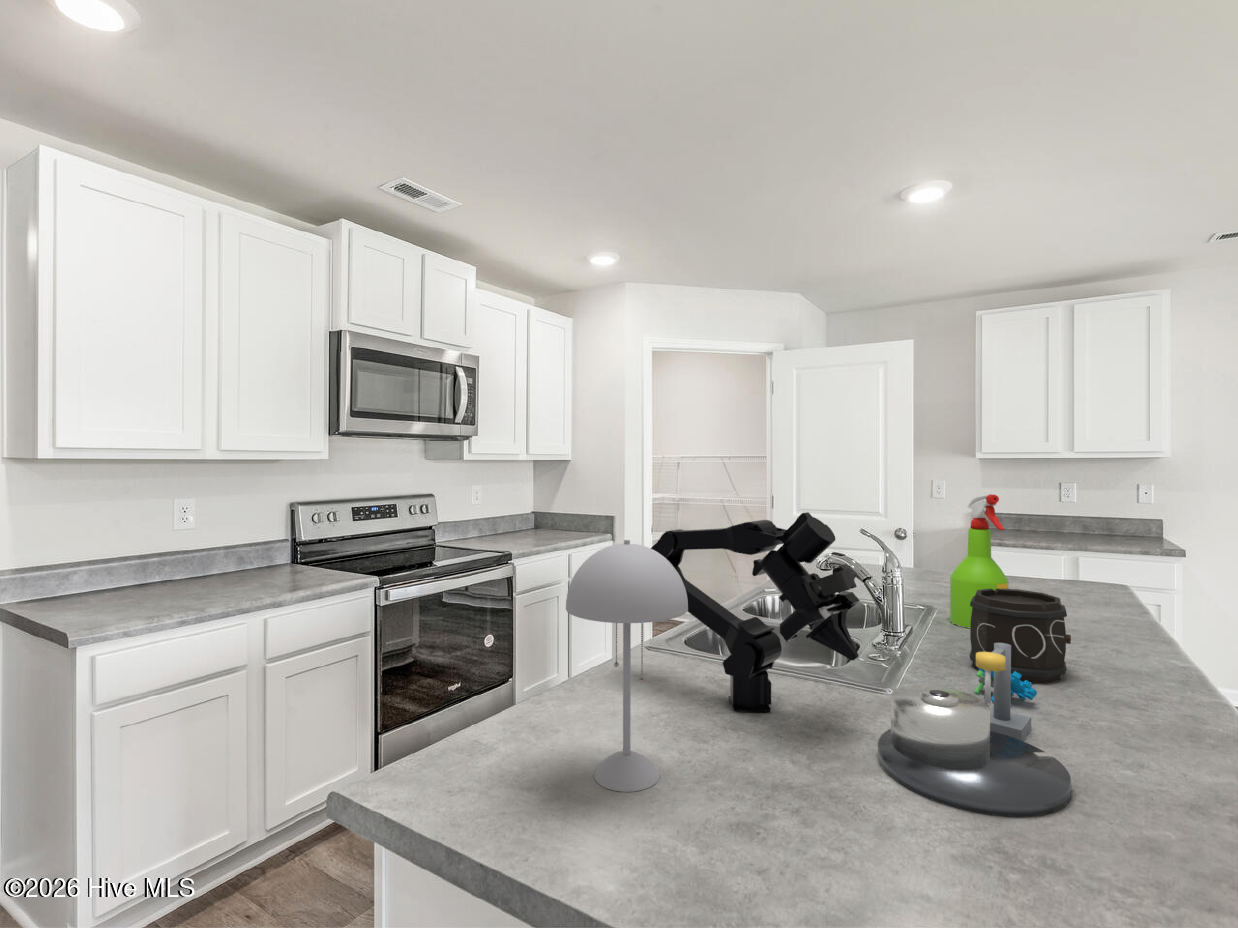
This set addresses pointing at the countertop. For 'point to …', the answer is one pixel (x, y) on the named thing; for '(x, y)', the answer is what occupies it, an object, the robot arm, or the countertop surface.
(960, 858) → the countertop surface
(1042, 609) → the wooden barrel
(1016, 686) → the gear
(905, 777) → the turntable
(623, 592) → the lamp
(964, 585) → the spray bottle
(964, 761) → the cover
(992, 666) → the gauge stand
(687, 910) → the countertop surface
